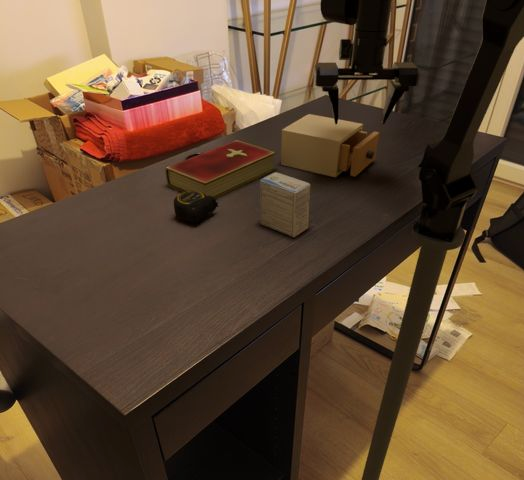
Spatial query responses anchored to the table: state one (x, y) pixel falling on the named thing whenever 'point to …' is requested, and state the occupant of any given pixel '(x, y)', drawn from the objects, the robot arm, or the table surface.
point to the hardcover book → (221, 169)
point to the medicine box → (284, 203)
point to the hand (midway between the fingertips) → (359, 123)
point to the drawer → (358, 152)
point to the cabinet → (316, 143)
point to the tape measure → (193, 205)
